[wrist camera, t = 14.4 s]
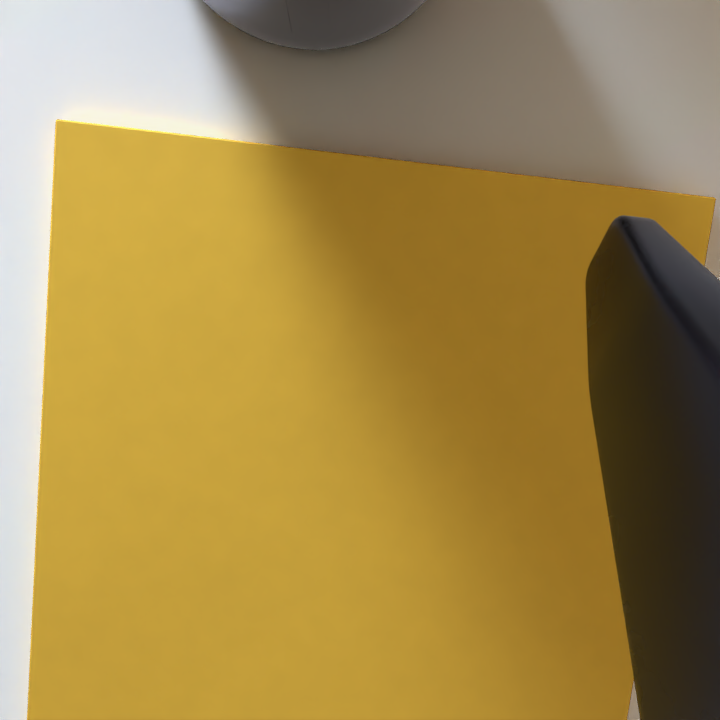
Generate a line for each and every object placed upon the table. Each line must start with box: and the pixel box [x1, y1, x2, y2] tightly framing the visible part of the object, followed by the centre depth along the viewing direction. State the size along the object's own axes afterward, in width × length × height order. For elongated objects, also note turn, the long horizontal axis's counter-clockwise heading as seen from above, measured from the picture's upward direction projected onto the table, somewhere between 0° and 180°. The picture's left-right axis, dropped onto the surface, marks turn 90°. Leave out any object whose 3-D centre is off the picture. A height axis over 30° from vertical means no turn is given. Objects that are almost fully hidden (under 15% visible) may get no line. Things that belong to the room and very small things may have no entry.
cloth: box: [27, 119, 716, 720], centre depth 17 cm, size 19×15×1 cm
